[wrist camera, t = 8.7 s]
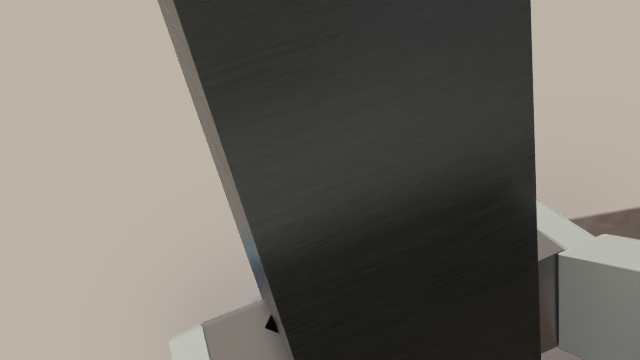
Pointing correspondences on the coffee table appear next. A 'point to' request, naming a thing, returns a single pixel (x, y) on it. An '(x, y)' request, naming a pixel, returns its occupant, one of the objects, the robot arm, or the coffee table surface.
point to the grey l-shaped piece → (376, 168)
